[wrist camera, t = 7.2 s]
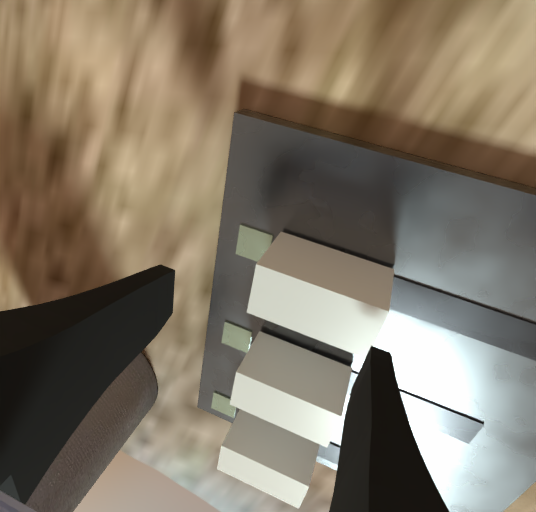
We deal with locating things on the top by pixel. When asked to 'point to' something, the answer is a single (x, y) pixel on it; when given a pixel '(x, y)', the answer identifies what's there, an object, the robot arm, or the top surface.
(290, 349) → the handle middle
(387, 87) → the top surface
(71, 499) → the pillar candle
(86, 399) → the robot arm
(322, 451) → the breaker panel
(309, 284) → the handle
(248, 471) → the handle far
